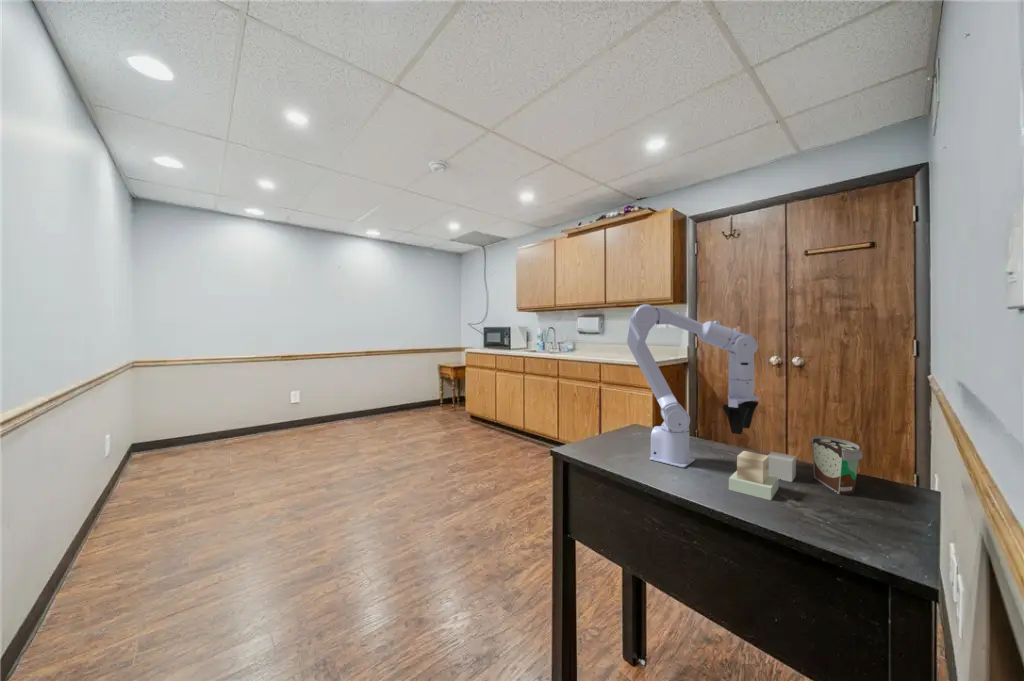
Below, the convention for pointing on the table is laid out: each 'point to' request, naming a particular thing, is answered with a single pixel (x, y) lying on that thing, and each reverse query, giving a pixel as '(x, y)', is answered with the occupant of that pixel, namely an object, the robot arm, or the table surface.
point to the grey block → (782, 466)
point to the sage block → (754, 486)
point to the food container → (836, 463)
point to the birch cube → (752, 467)
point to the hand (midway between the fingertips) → (740, 430)
